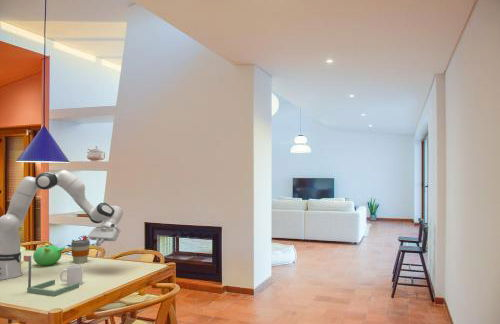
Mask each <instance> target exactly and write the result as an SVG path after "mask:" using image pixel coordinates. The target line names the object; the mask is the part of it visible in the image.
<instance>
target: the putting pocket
mask: <svg viewBox="0 0 500 324" xmlns="http://www.w3.org/2000/svg"><path fill="white" fill-rule="evenodd" d="M23 262H25V263H26V262H27V263H28V274H27V275H28V277H27V278H28V279H27V281H28V282H27V287H26V292H27V293H29V294H35V295H42V296H47V297H49V296H50V297H57V296H59V295H62V294H64V293H65V294H66V293H68V292H70V291H73V290H76V289H78V288H79V287H80V284H79V283H75V284H72V285H65V286H64V287H61V288H58V289H55V290H53V289H47V288H49V287H51V286H54V285H56V279H51V280H48V281H44V282H41V283H38V284H35V285H31V284H32V255H23Z"/></svg>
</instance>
